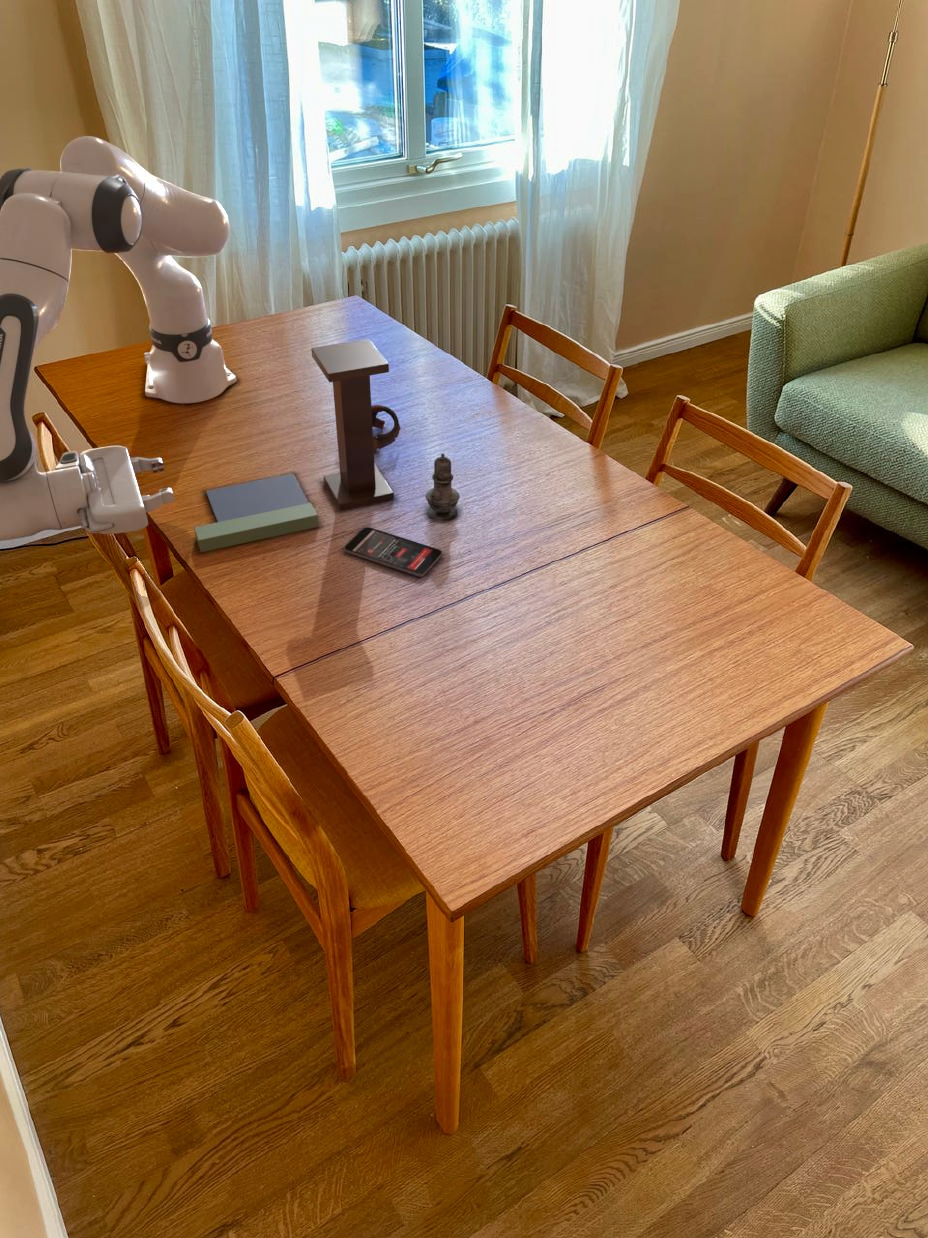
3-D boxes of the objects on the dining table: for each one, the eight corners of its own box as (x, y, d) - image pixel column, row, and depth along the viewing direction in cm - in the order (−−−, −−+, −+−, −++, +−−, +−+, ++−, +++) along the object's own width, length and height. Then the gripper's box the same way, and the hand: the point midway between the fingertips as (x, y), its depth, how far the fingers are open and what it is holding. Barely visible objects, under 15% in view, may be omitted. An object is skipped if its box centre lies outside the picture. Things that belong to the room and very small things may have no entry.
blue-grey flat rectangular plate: (205, 492, 169) (205, 490, 169) (293, 474, 174) (293, 472, 173) (218, 525, 161) (218, 523, 161) (309, 506, 166) (309, 504, 166)
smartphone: (422, 575, 150) (342, 548, 155) (422, 578, 151) (342, 552, 156) (443, 550, 155) (365, 525, 160) (443, 554, 156) (365, 529, 161)
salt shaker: (447, 526, 162) (448, 466, 154) (419, 515, 164) (418, 455, 157) (465, 510, 166) (467, 450, 158) (437, 499, 168) (437, 440, 160)
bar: (196, 539, 158) (193, 527, 157) (312, 514, 164) (310, 502, 163) (200, 552, 155) (198, 540, 154) (318, 526, 161) (317, 514, 160)
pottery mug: (397, 428, 188) (405, 405, 181) (391, 468, 184) (399, 446, 177) (337, 414, 186) (343, 390, 178) (330, 454, 182) (336, 432, 175)
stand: (323, 482, 172) (311, 347, 155) (376, 471, 175) (369, 338, 158) (340, 511, 165) (328, 373, 148) (394, 499, 168) (388, 363, 151)
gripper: (76, 515, 134) (176, 496, 138) (63, 446, 148) (153, 430, 152) (87, 551, 138) (183, 531, 142) (73, 481, 152) (161, 464, 156)
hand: (168, 478), depth 147 cm, fingers open, 8 cm apart
